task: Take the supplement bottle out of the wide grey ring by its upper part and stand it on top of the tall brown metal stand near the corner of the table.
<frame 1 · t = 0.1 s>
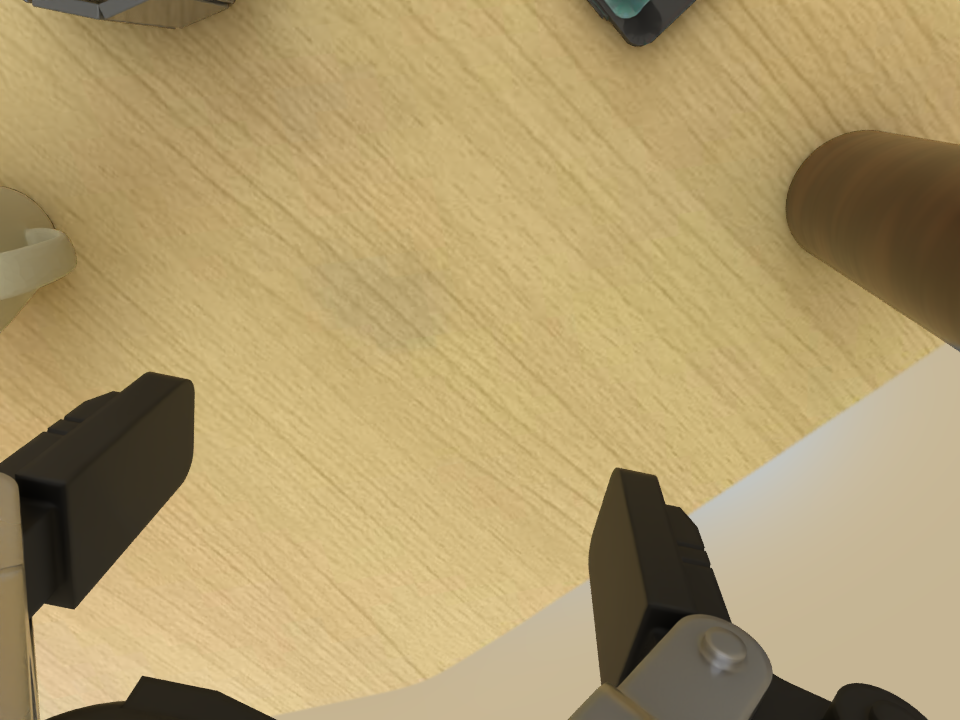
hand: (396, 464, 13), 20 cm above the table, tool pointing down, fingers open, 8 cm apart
mug: (31, 228, 33), on the table
brown metal stand: (852, 198, 29), on the table
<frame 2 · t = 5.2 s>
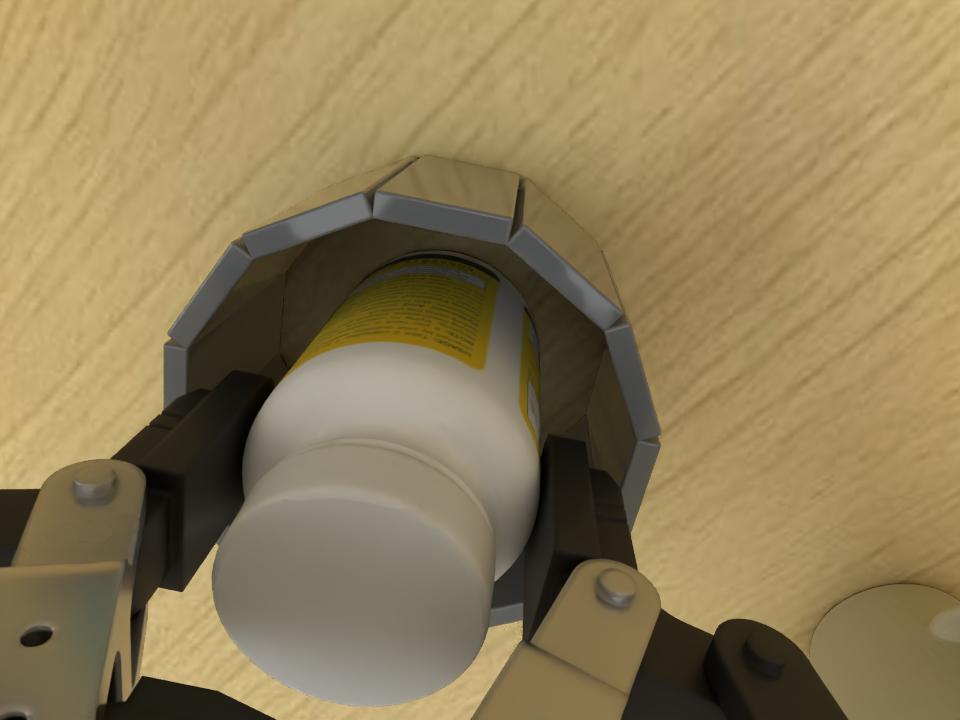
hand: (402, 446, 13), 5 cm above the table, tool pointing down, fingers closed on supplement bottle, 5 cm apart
supplement bottle: (440, 341, 19), resting in grey ring, touching gripper
mug: (881, 613, 21), on the table
grey ring: (439, 344, 18), on the table
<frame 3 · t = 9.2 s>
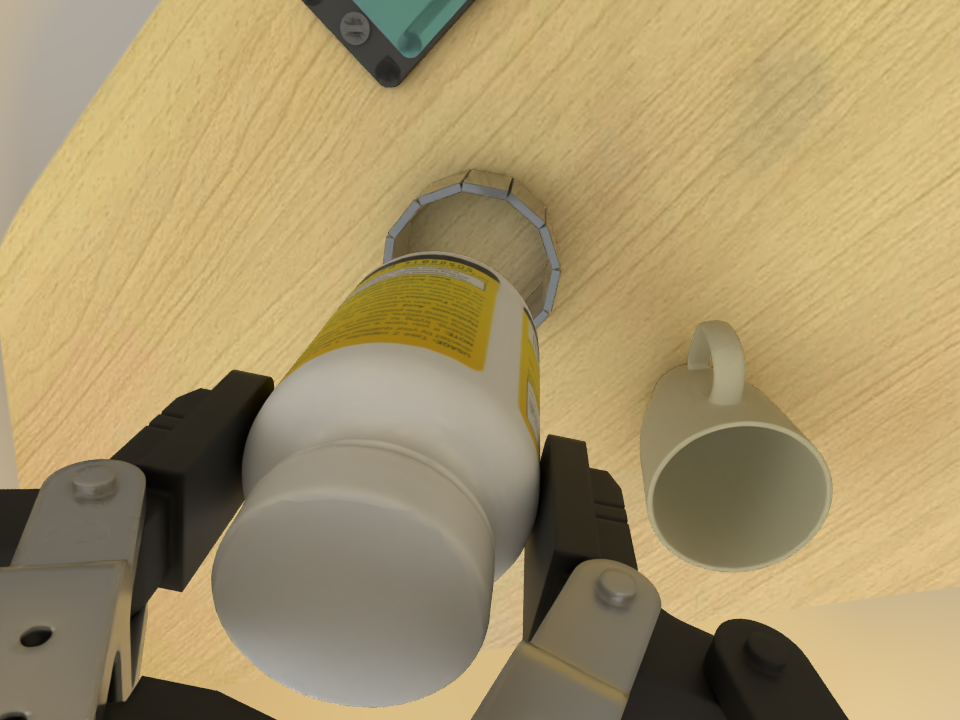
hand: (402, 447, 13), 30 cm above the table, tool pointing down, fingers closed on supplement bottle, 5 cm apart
supplement bottle: (440, 342, 19), point 24 cm above the table, touching gripper
mug: (684, 381, 45), on the table
grey ring: (478, 251, 42), on the table
when the fingers open (23 cm above the table, at t = 13.4 s): supplement bottle stays where it is, resting on brown metal stand.
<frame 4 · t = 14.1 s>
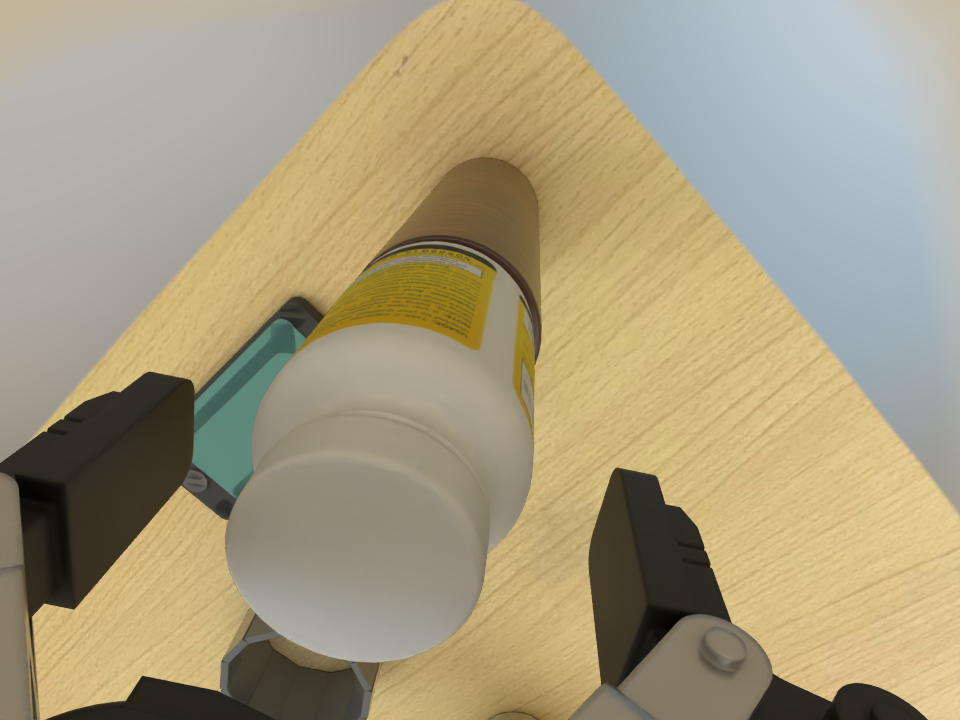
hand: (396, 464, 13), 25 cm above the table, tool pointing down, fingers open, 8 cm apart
supplement bottle: (439, 330, 19), point 18 cm above the table, touching brown metal stand
brown metal stand: (485, 212, 36), on the table
grey ring: (320, 625, 48), on the table
smartphone: (266, 411, 42), on the table
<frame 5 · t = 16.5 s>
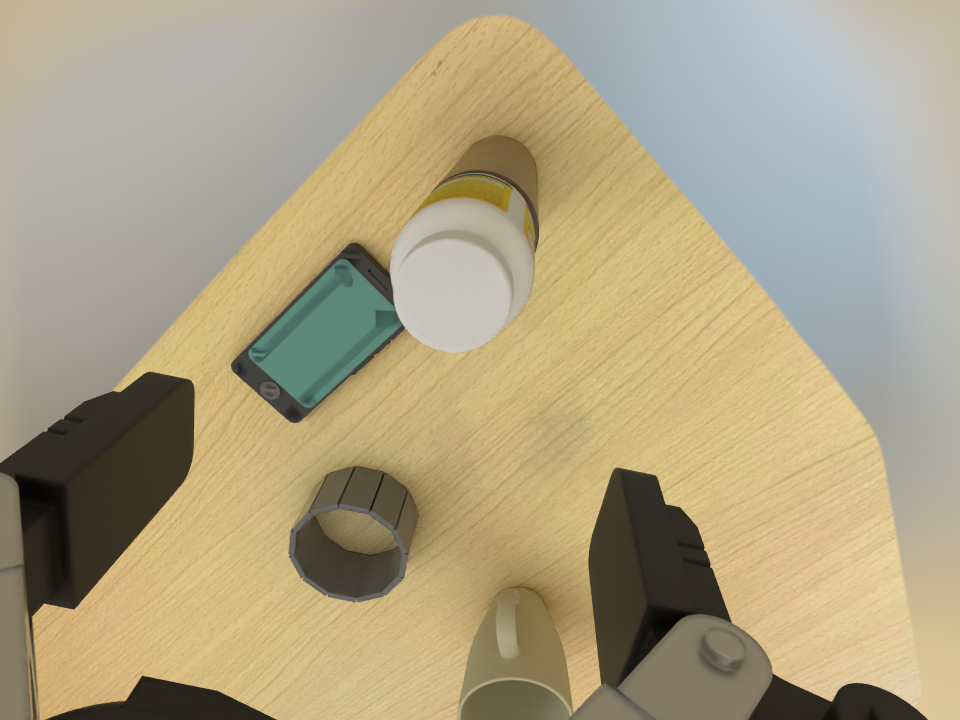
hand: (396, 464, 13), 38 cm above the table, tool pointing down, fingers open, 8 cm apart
supplement bottle: (476, 231, 31), point 18 cm above the table, touching brown metal stand
mug: (514, 597, 63), on the table
brown metal stand: (497, 177, 48), on the table
grey ring: (363, 514, 60), on the table
smartphone: (326, 335, 54), on the table
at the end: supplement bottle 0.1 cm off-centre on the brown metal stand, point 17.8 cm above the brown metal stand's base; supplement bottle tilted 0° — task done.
